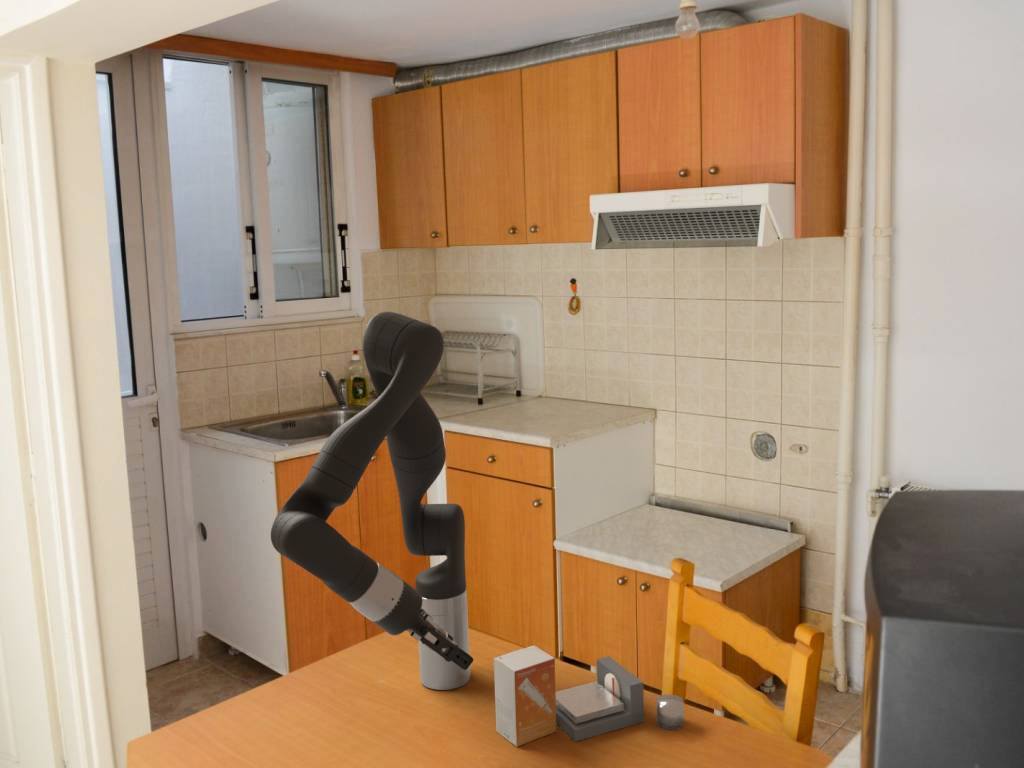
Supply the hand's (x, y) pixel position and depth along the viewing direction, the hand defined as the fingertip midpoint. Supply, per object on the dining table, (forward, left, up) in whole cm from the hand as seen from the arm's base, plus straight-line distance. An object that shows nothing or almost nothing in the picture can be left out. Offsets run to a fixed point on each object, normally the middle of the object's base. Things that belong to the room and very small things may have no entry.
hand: (458, 653), depth 147 cm
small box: (0, +11, -16) cm, 20 cm away
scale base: (+1, +23, -16) cm, 28 cm away
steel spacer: (+9, +33, -16) cm, 38 cm away
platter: (+1, +22, -14) cm, 26 cm away
